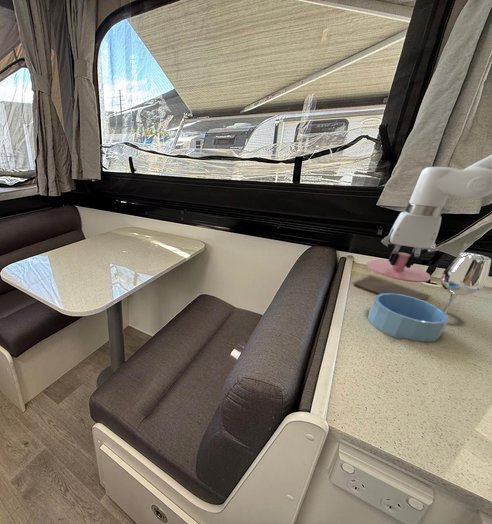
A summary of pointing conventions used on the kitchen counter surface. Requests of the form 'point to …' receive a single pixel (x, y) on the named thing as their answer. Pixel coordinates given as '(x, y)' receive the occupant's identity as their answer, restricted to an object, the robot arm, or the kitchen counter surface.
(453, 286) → the wineglass
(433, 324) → the bowl
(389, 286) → the board
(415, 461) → the kitchen counter surface
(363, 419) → the kitchen counter surface
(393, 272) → the pink knobbed lid
